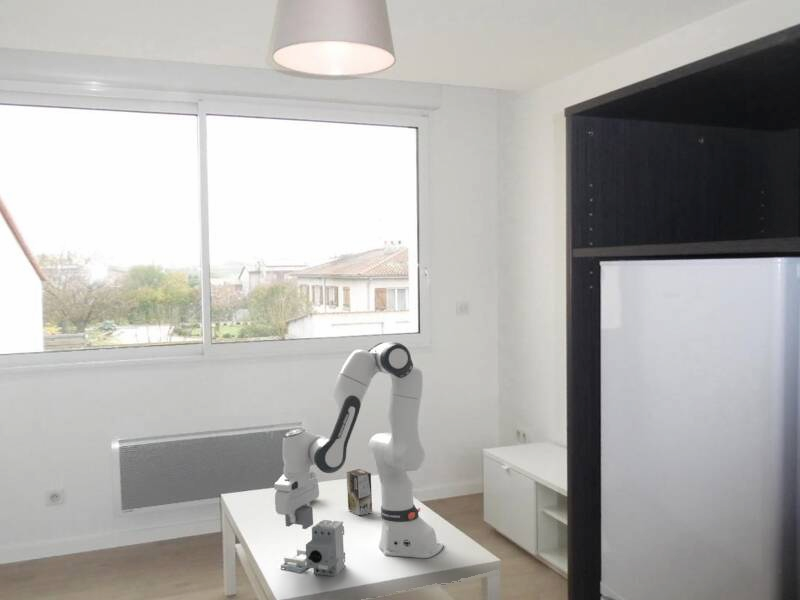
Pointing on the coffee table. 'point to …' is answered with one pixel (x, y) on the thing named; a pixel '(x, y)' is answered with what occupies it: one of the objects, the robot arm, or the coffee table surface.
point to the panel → (296, 561)
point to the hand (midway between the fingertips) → (299, 519)
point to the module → (302, 517)
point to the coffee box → (359, 491)
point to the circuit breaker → (326, 548)
